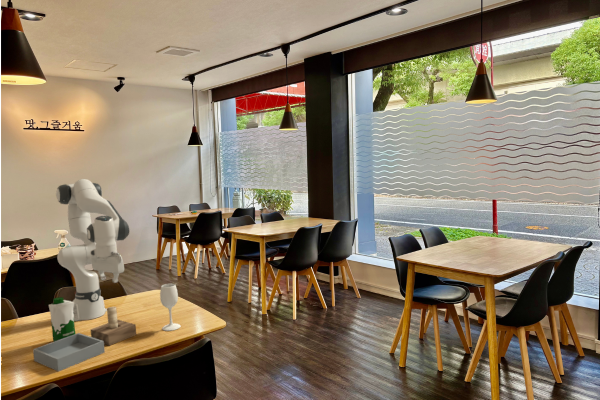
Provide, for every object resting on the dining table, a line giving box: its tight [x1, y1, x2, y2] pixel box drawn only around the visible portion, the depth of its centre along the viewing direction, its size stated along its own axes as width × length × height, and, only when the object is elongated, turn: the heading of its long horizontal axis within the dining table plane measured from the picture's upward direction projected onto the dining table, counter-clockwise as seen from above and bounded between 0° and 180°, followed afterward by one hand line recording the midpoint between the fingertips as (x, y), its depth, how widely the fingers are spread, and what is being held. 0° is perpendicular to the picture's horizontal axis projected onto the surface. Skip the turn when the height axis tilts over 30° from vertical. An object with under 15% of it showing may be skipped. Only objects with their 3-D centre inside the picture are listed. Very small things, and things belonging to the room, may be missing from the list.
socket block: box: [90, 319, 137, 346], centre depth 206 cm, size 14×14×5 cm
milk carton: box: [48, 296, 77, 342], centre depth 203 cm, size 9×9×20 cm
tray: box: [32, 332, 105, 372], centre depth 187 cm, size 20×20×5 cm
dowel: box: [106, 306, 118, 330], centre depth 206 cm, size 4×4×14 cm
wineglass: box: [159, 283, 182, 332], centre depth 214 cm, size 9×9×21 cm
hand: (109, 281), depth 204 cm, fingers open, 8 cm apart
